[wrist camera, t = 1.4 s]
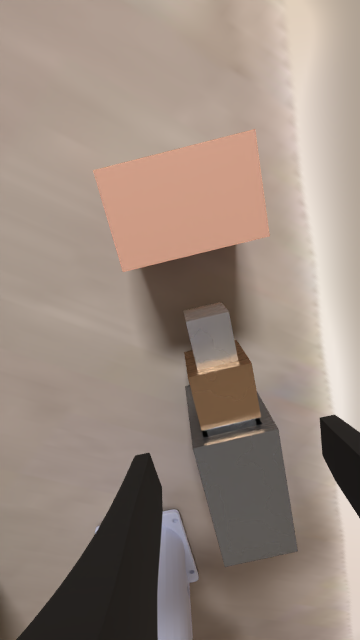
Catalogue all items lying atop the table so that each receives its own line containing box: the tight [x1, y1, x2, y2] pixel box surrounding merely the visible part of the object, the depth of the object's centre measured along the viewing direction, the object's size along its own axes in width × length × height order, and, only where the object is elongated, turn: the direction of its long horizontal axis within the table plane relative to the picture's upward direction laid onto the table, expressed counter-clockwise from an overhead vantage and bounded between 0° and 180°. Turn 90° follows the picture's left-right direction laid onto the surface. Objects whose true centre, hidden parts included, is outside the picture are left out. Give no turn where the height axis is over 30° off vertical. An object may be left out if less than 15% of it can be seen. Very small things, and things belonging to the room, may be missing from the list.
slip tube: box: [184, 302, 261, 436], centre depth 19 cm, size 17×4×4 cm, turn 13°
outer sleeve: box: [185, 385, 298, 567], centre depth 21 cm, size 10×5×7 cm, turn 13°
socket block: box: [93, 129, 270, 272], centre depth 16 cm, size 4×7×7 cm, turn 103°
